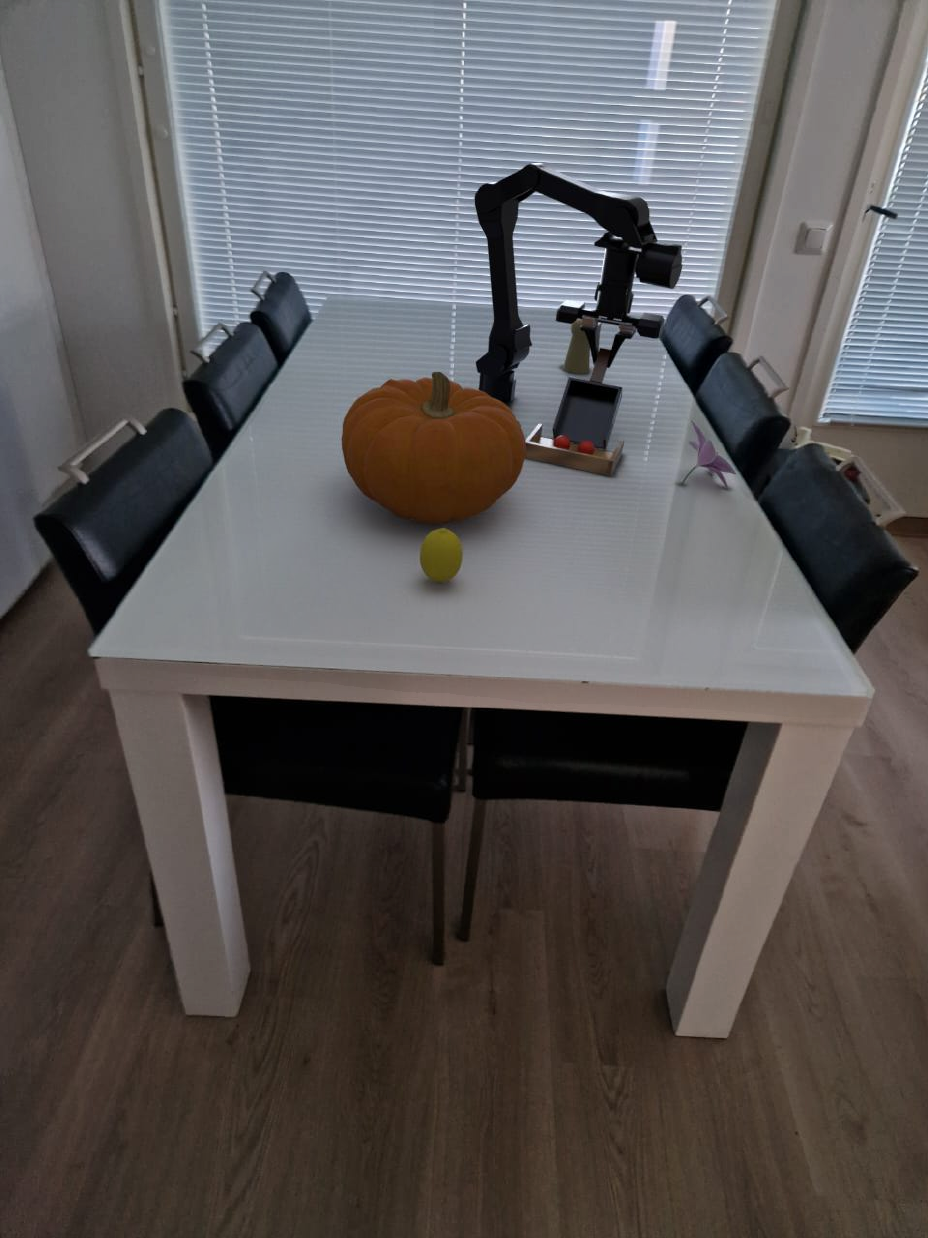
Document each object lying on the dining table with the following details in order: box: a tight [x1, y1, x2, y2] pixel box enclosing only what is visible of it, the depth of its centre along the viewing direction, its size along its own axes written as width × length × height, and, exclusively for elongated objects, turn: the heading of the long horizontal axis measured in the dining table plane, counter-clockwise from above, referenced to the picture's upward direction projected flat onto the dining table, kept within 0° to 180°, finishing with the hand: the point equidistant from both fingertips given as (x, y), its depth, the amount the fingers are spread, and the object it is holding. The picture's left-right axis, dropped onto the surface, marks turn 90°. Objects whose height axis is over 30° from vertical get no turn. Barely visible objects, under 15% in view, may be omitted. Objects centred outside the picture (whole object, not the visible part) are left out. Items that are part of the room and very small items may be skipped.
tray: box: [525, 423, 625, 477], centre depth 147 cm, size 16×10×3 cm, turn 70°
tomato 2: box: [577, 441, 596, 455], centre depth 146 cm, size 3×3×3 cm
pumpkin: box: [341, 371, 526, 525], centre depth 123 cm, size 28×28×20 cm
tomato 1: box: [553, 435, 571, 450], centre depth 147 cm, size 3×3×3 cm
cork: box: [562, 319, 591, 375], centre depth 186 cm, size 6×6×11 cm
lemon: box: [419, 527, 464, 584], centre depth 107 cm, size 6×6×8 cm
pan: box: [552, 347, 623, 450], centre depth 152 cm, size 18×10×4 cm
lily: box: [680, 420, 737, 490], centre depth 141 cm, size 12×12×10 cm
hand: (601, 366), depth 153 cm, fingers closed on pan, 2 cm apart
